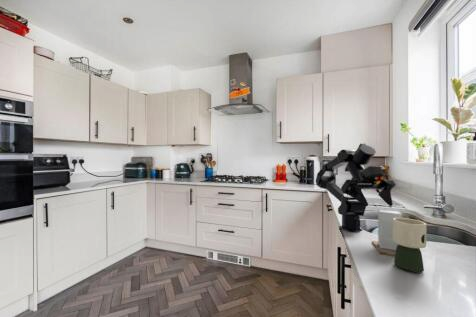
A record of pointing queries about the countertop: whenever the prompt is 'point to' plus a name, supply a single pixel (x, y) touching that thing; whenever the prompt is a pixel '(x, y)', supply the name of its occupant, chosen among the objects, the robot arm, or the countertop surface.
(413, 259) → the character mug
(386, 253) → the curved brown sheet
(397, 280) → the countertop surface
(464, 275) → the countertop surface
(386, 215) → the skincare box
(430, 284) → the countertop surface
